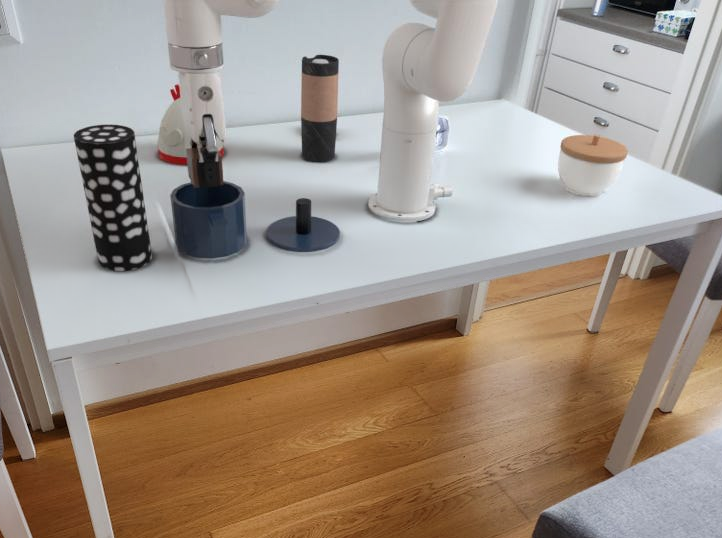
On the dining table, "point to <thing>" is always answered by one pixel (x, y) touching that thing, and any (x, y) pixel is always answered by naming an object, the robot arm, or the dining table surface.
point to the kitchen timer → (176, 134)
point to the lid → (303, 230)
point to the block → (193, 168)
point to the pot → (209, 220)
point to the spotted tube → (114, 196)
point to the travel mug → (319, 107)
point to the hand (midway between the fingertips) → (206, 178)
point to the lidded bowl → (590, 163)
